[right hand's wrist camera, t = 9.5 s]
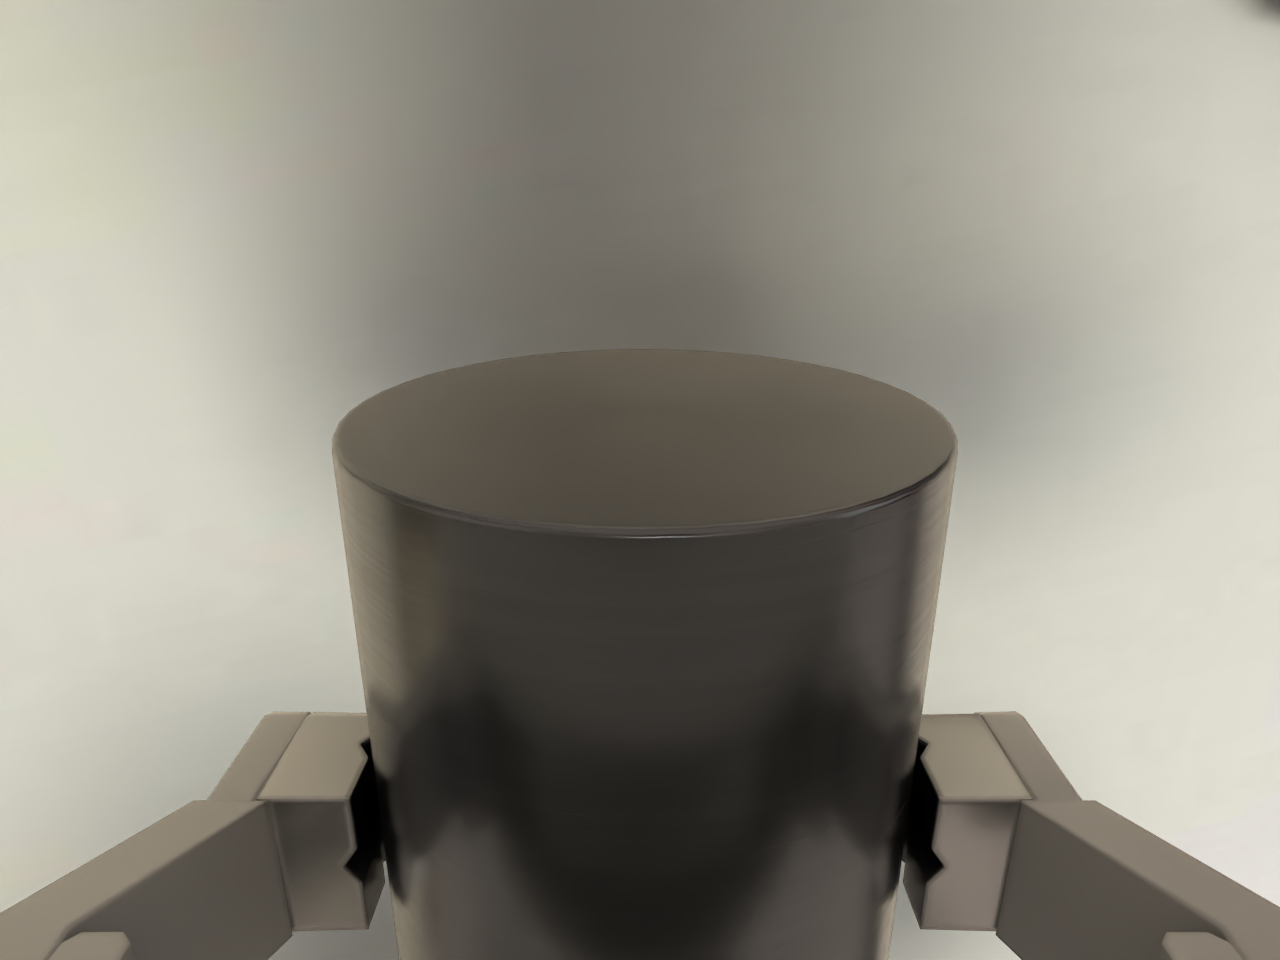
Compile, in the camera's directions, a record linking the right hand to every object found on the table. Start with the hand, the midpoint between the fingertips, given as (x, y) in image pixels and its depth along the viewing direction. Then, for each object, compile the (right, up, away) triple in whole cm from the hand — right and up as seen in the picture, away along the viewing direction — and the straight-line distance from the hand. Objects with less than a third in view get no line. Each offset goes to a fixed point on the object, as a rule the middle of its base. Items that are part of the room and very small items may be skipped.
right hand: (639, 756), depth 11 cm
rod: (0, -7, +5) cm, 9 cm away
